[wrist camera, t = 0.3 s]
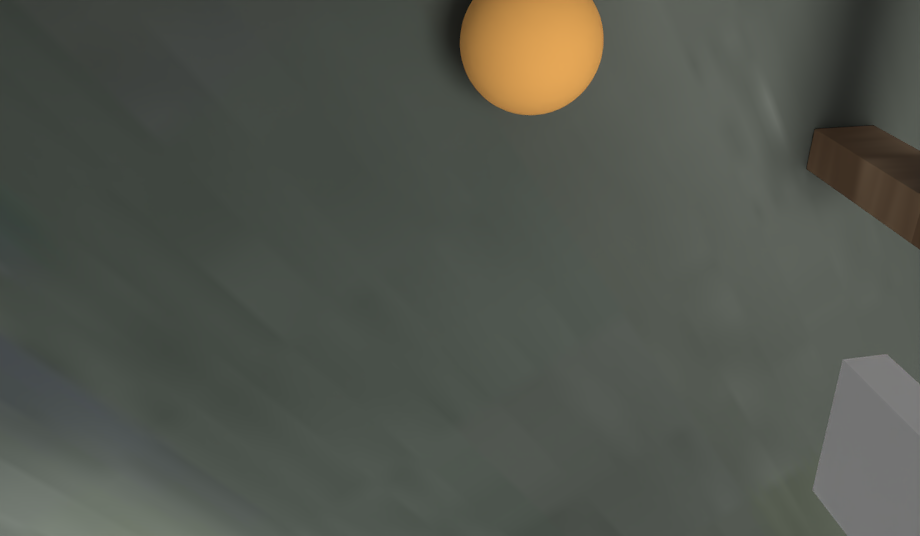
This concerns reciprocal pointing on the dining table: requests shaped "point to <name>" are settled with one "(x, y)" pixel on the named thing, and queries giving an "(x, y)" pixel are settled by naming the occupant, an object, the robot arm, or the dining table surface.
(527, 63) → the ball
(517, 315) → the dining table surface
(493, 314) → the dining table surface
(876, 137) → the bridge
